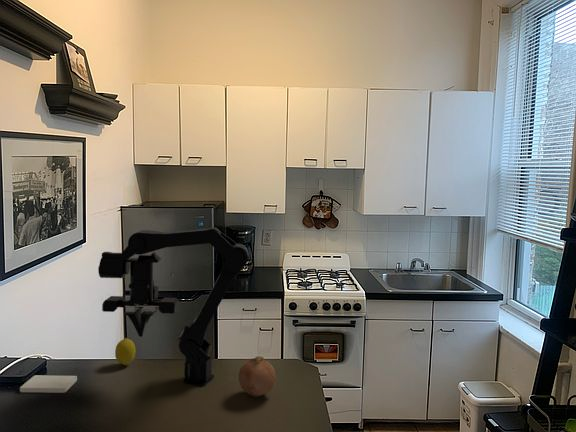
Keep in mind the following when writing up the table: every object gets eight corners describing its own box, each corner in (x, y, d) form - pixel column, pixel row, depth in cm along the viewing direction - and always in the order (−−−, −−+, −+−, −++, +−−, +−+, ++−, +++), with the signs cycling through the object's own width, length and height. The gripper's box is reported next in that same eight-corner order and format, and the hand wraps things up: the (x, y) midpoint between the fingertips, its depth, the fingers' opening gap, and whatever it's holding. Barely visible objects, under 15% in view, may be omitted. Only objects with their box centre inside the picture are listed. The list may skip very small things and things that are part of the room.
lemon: (129, 370, 128) (129, 342, 127) (111, 368, 129) (111, 340, 128) (139, 362, 133) (139, 336, 132) (122, 360, 134) (122, 334, 134)
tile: (76, 375, 121) (34, 375, 120) (65, 388, 114) (19, 387, 113) (76, 381, 121) (34, 381, 120) (65, 394, 114) (20, 394, 113)
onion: (247, 384, 121) (248, 348, 120) (280, 391, 118) (281, 353, 117) (231, 400, 112) (232, 361, 111) (266, 407, 109) (267, 367, 108)
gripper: (183, 273, 128) (183, 327, 129) (117, 271, 128) (117, 325, 129) (174, 282, 117) (173, 341, 118) (101, 280, 117) (101, 339, 118)
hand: (141, 336), depth 121 cm, fingers closed
